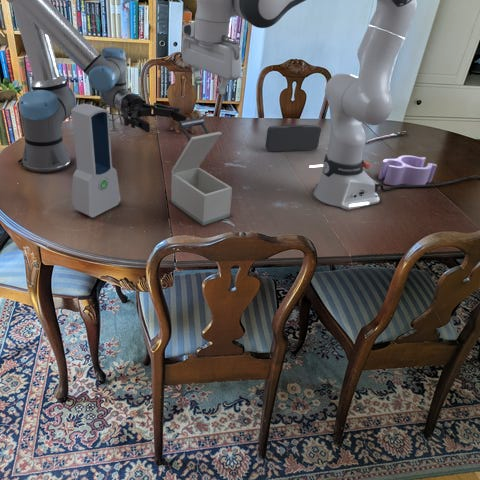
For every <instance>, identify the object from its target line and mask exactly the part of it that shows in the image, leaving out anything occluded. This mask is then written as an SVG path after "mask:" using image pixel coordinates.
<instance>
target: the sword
mask: <svg viewBox="0 0 480 480" xmlns="http://www.w3.org/2000/svg"><path fill="white" fill-rule="evenodd" d="M404 134H406V133H402V134H400V132H393V133H390V134H387V135H381V136H378V137H374V138H370V139H368V140H367V139H366V142H365V144H368V143H370V142H374V141H378V140H381V139H386V138H390V137H394V136H395V137H398V136H399V135H404Z"/></svg>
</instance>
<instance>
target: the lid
mask: <svg viewBox="0 0 480 480" xmlns="http://www.w3.org/2000/svg"><path fill="white" fill-rule="evenodd" d="M192 126H193V127H197V126H201V127H202V129H203V131H204V132H205V134H201V135H196V136H190V133H189V132H188V130H187V128H188V127H192ZM178 128H179V129H180V130H182V132H183V134H184V135H185V137H186V139H187V141H188V142H187V144H186V145H185V147H184V149H183V150H182V152H181V154H180V156H179V157H178V159H177V160H176V163H175V164H174V165H173V167H172V169H171V170H170V173H171V174H173V173H177V172H181V171H185V170H189V169H193V168H197V167H199V168H200V166H201V165H202V163H203V162H204V160H205V159H206V158H207V156H208V154H209V153H210V152H211V150H212V149H213V147H214V145H216V143H217V141H218V140H219V138H220V137H221V136H222V132H221V131H215V132H214V131H213V132H210V131H209V130H208V128H207V126H206V124H205V119H204V118H203V117H201V118H197V119H191V120H185V121H180V122H178Z"/></svg>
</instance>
